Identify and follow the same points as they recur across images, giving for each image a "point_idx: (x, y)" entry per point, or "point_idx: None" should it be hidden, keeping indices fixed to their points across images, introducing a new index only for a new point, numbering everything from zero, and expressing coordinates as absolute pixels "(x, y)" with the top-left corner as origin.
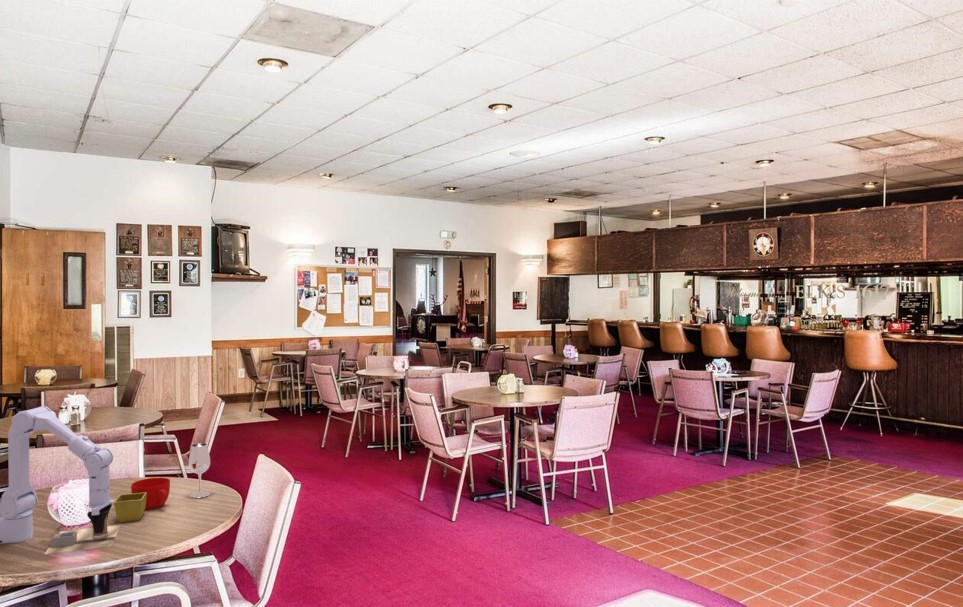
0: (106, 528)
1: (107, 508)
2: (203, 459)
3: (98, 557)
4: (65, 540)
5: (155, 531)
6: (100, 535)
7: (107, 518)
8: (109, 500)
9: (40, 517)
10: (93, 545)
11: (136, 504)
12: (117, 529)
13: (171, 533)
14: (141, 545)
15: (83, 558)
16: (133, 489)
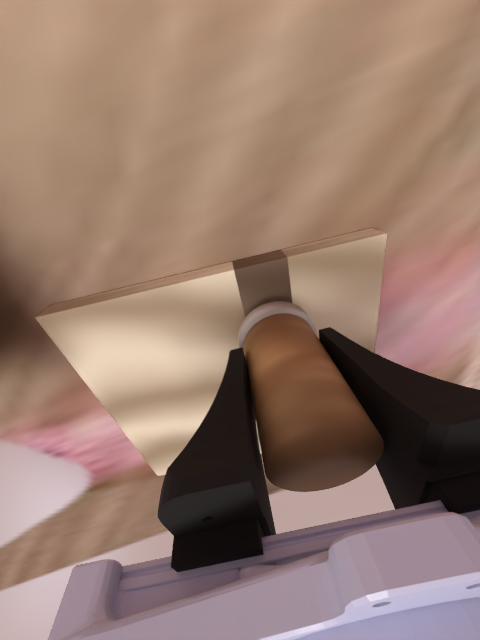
0: (295, 329)
1: (252, 465)
2: None
3: (432, 254)
4: None
5: (35, 7)
6: (314, 329)
7: (223, 383)
8: (462, 633)
9: (17, 546)
10: (340, 323)
11: None
12: (119, 306)
13: None
14: (347, 31)
15: (410, 311)
16: None
